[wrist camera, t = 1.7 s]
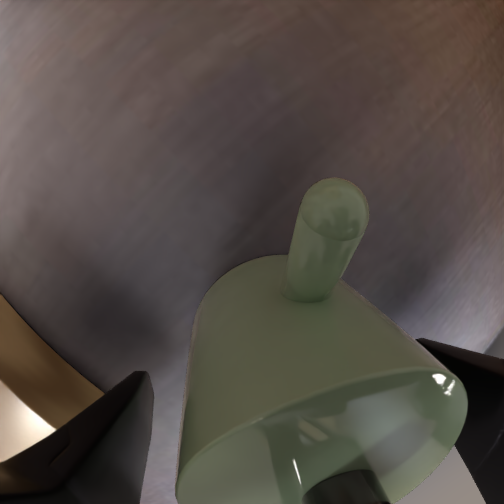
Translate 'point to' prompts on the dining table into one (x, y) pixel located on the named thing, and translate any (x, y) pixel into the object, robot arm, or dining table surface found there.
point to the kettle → (310, 379)
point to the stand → (34, 386)
